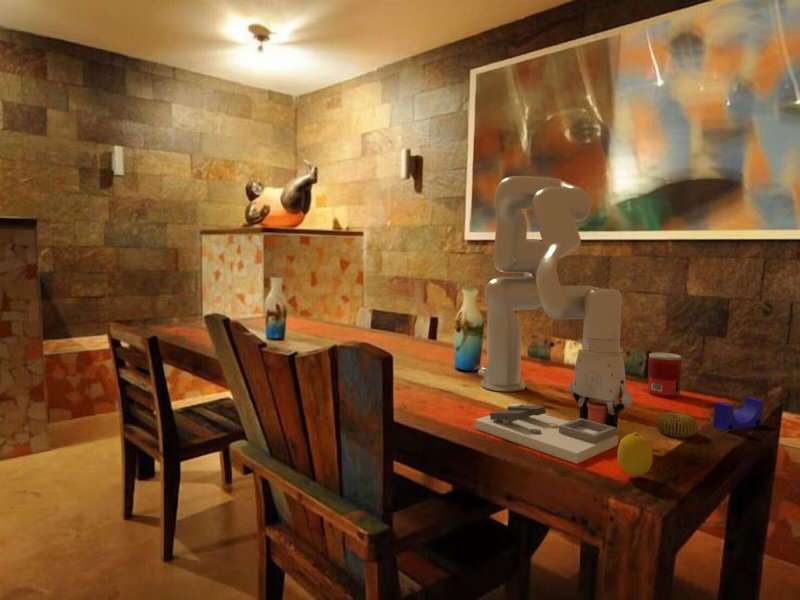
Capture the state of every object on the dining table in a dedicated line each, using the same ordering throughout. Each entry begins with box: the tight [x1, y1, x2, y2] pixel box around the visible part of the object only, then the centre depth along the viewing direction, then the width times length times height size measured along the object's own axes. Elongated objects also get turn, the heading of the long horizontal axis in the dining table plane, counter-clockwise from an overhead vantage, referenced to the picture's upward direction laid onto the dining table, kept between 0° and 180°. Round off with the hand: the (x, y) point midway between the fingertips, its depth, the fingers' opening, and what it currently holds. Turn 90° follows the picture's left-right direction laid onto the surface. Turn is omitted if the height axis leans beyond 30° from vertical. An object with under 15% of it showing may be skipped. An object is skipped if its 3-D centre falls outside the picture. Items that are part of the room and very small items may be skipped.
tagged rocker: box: [506, 403, 547, 417], centre depth 116 cm, size 8×3×3 cm, turn 39°
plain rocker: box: [489, 410, 529, 424], centre depth 112 cm, size 8×3×2 cm, turn 39°
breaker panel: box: [474, 409, 619, 465], centre depth 110 cm, size 25×15×4 cm, turn 40°
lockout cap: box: [587, 400, 609, 425], centre depth 115 cm, size 5×5×6 cm
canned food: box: [646, 352, 683, 399], centre depth 144 cm, size 8×8×11 cm
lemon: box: [616, 431, 654, 479], centre depth 90 cm, size 6×6×8 cm
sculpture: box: [655, 412, 699, 438], centre depth 113 cm, size 8×4×8 cm
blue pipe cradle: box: [712, 396, 764, 432], centre depth 118 cm, size 12×4×6 cm, turn 114°
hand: (597, 426), depth 115 cm, fingers open, 5 cm apart
